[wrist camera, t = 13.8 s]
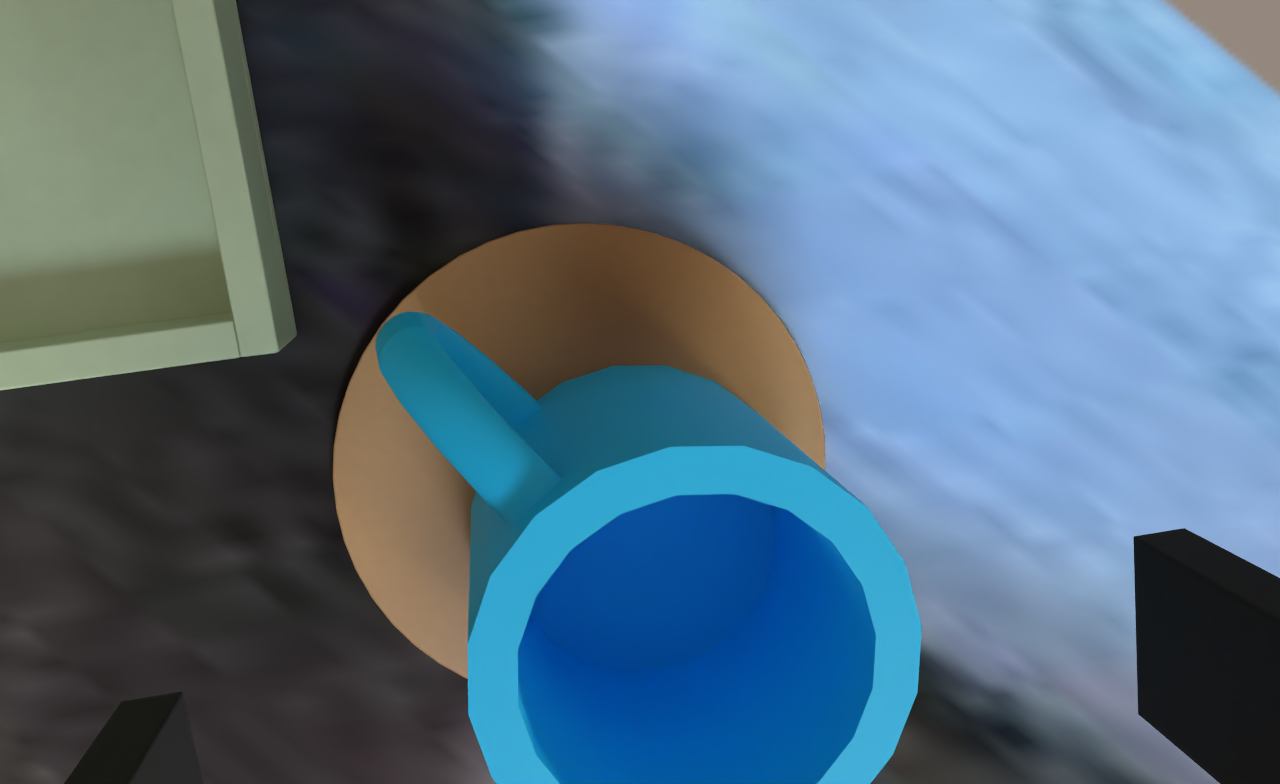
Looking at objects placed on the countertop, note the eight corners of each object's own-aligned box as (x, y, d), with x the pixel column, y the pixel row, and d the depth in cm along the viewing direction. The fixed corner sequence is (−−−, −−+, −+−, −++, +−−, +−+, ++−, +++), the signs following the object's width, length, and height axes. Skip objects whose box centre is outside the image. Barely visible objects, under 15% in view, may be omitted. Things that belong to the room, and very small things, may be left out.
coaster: (799, 192, 27) (804, 193, 27) (839, 652, 29) (844, 659, 29) (292, 257, 26) (289, 259, 25) (379, 733, 28) (377, 741, 28)
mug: (862, 520, 28) (1010, 655, 20) (633, 742, 29) (691, 960, 21) (525, 174, 26) (546, 174, 18) (275, 423, 26) (185, 534, 18)
